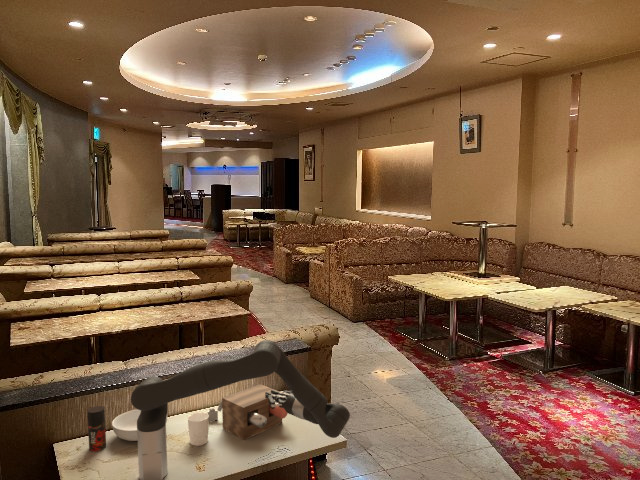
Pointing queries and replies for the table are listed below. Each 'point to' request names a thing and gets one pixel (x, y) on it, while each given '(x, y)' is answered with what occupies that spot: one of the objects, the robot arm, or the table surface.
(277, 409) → the red plug
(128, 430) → the serving bowl
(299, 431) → the table surface
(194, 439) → the white cup
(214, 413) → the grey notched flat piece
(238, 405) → the socket block
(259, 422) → the grey plug
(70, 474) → the table surface
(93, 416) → the deodorant
